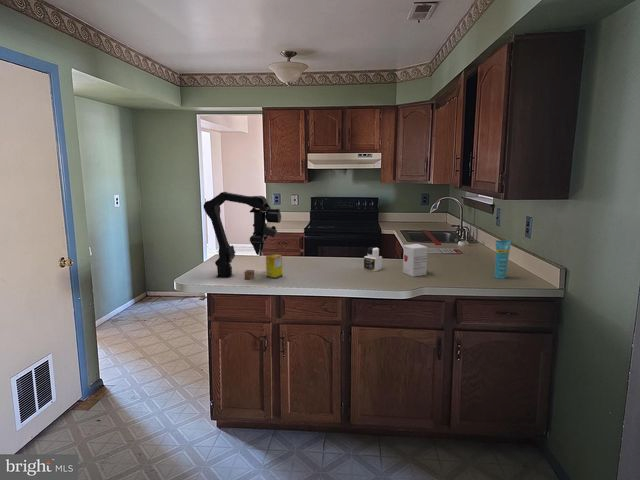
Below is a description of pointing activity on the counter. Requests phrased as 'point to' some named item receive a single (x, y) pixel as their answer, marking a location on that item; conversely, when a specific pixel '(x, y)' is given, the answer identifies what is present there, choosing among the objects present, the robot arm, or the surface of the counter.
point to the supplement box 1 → (274, 266)
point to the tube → (502, 258)
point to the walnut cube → (249, 274)
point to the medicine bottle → (373, 260)
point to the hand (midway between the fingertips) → (259, 252)
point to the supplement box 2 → (415, 259)
